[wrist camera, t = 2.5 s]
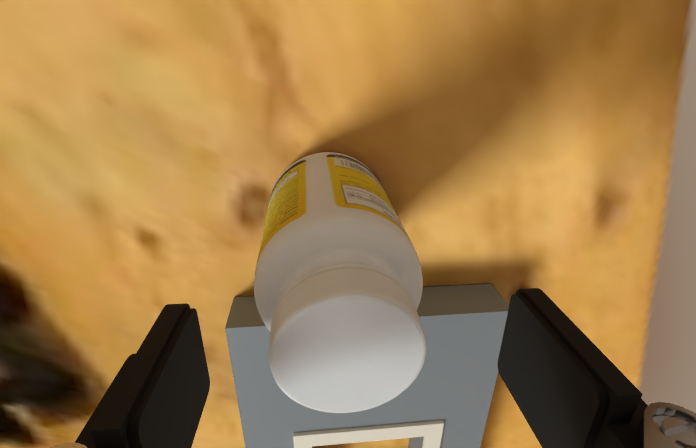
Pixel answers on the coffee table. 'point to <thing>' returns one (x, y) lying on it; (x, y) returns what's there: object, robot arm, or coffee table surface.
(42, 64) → the coffee table surface
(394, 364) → the supplement bottle
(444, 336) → the board
